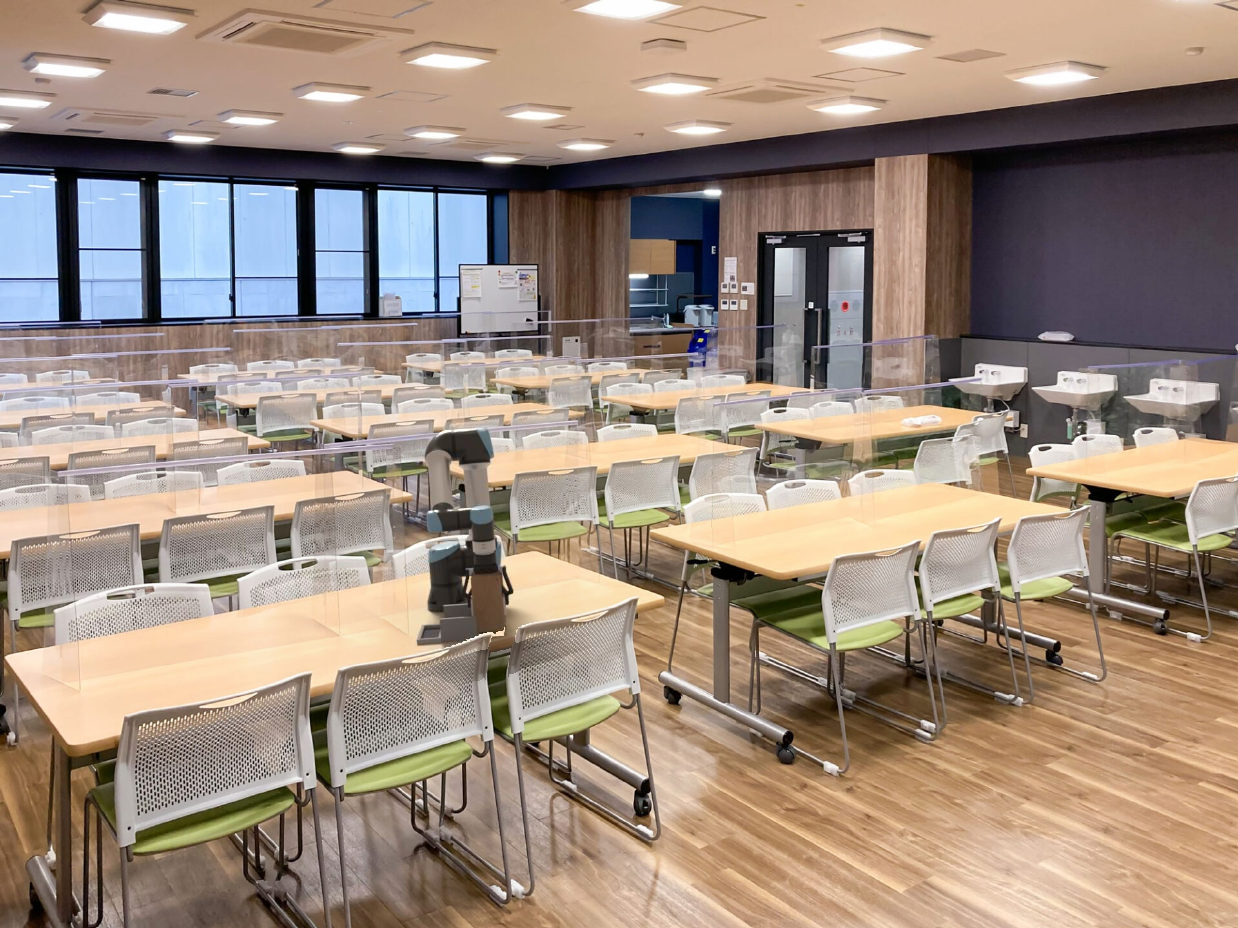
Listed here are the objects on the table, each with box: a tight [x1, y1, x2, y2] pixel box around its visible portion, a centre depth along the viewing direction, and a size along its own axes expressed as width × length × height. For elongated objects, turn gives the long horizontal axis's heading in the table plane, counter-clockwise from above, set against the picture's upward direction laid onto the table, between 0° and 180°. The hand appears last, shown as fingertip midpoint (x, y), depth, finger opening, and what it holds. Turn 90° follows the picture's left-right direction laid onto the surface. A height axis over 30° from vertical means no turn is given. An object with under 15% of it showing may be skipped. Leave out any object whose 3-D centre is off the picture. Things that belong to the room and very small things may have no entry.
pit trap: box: [416, 623, 442, 645], centre depth 396 cm, size 16×8×2 cm, turn 4°
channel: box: [438, 604, 478, 643], centre depth 396 cm, size 16×12×8 cm
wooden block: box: [470, 570, 507, 634], centre depth 397 cm, size 10×10×20 cm
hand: (489, 615), depth 397 cm, fingers closed on wooden block, 10 cm apart
